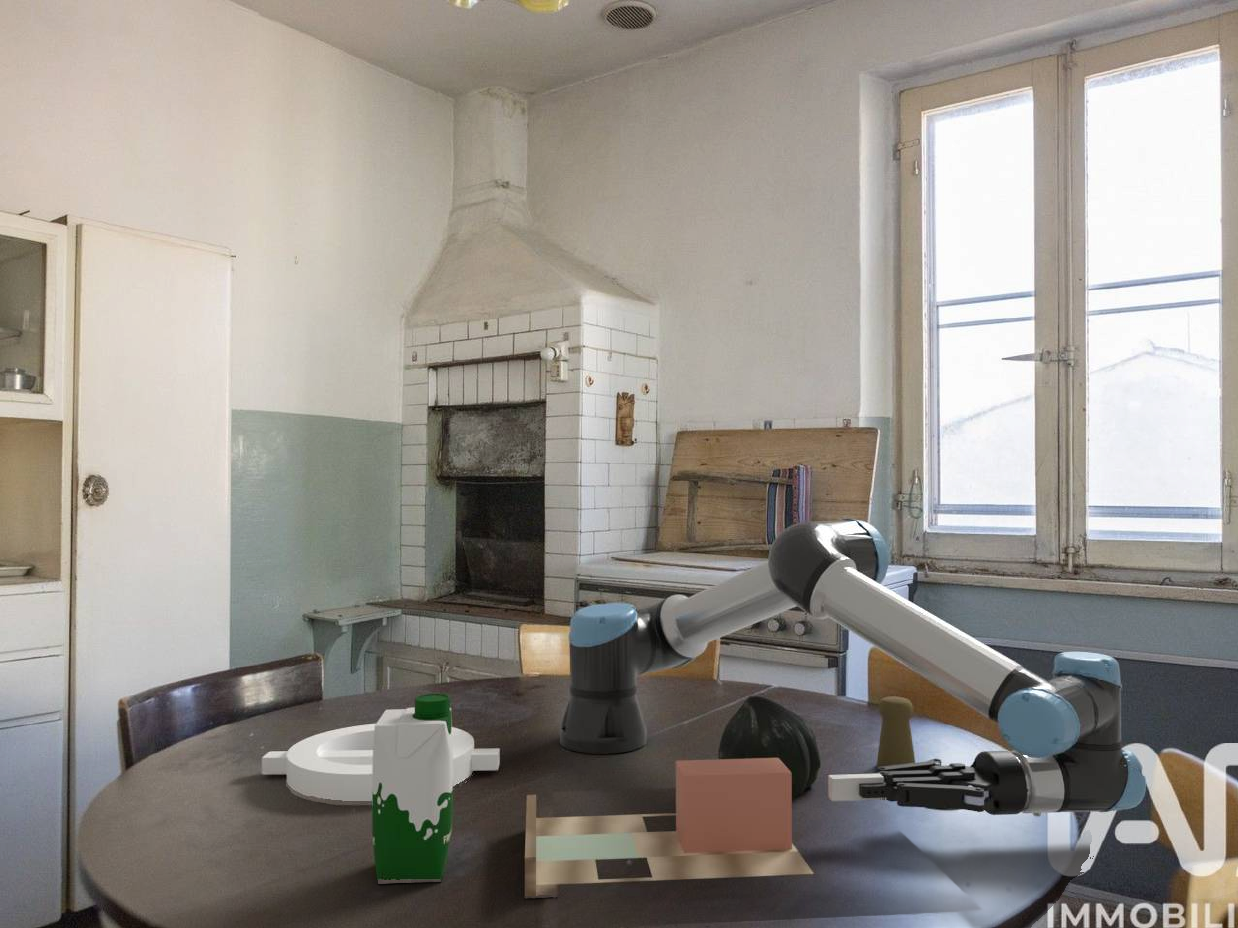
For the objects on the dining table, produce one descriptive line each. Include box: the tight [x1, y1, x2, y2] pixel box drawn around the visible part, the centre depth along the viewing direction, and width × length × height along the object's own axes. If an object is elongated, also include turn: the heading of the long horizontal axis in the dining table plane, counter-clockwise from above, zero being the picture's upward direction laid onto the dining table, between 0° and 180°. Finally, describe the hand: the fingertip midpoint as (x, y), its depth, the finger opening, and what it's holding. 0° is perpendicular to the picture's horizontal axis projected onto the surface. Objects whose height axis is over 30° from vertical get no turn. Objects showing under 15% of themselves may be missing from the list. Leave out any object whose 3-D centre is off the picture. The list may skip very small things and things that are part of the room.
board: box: [524, 794, 814, 897], centre depth 111 cm, size 32×20×4 cm, turn 95°
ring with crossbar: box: [261, 723, 501, 801], centre depth 142 cm, size 28×28×5 cm
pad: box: [536, 833, 639, 862], centre depth 110 cm, size 12×8×2 cm, turn 95°
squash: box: [717, 695, 822, 796], centre depth 133 cm, size 14×15×15 cm
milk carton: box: [371, 693, 454, 880], centre depth 107 cm, size 9×9×20 cm
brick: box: [675, 758, 793, 853], centre depth 112 cm, size 13×6×9 cm, turn 95°
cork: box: [875, 695, 916, 769], centre depth 145 cm, size 6×6×11 cm
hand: (830, 787), depth 113 cm, fingers closed
